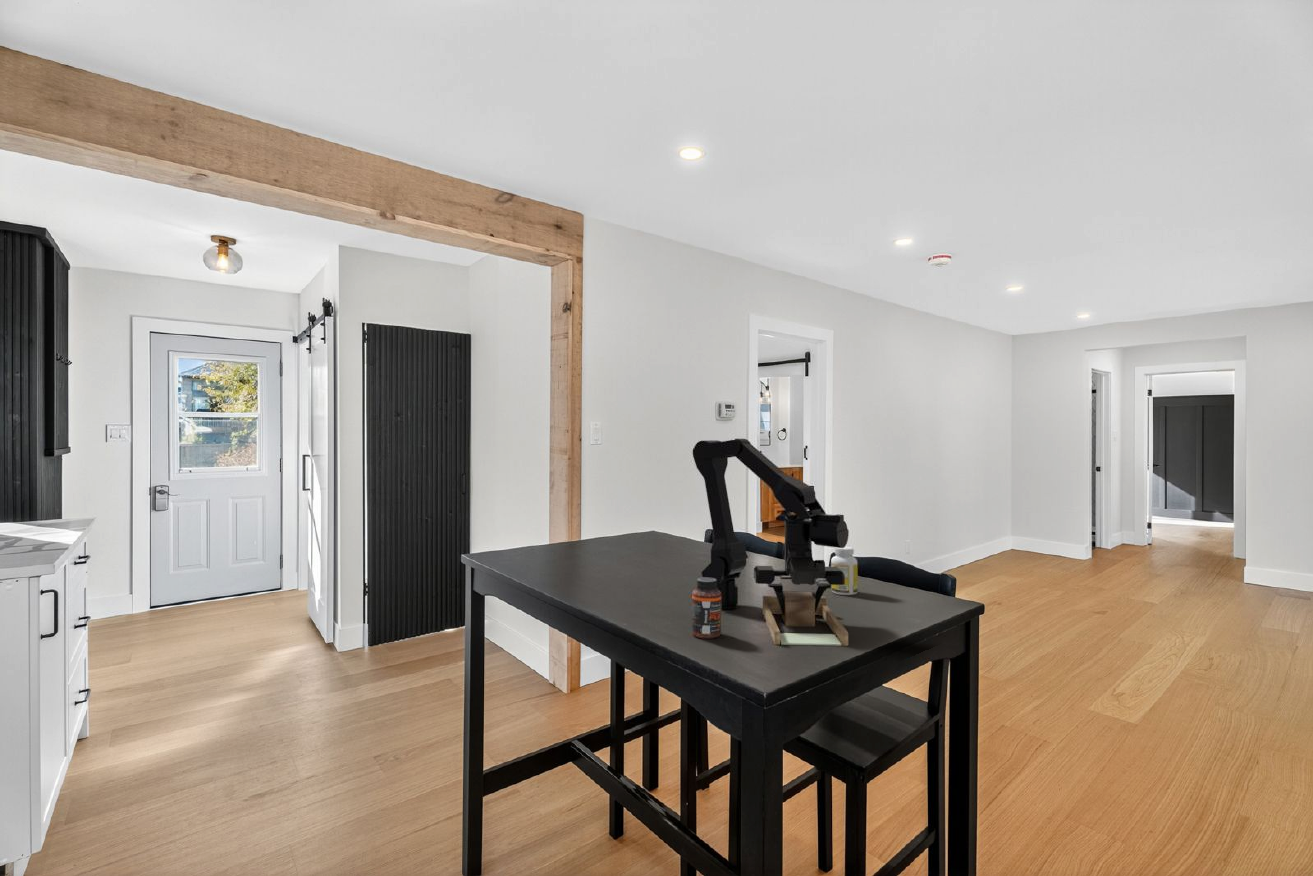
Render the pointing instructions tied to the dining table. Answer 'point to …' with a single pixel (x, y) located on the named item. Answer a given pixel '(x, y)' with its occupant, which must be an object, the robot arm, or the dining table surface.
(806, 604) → the crate
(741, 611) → the dining table surface
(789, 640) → the front pad
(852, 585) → the pill bottle
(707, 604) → the supplement bottle
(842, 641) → the bay
